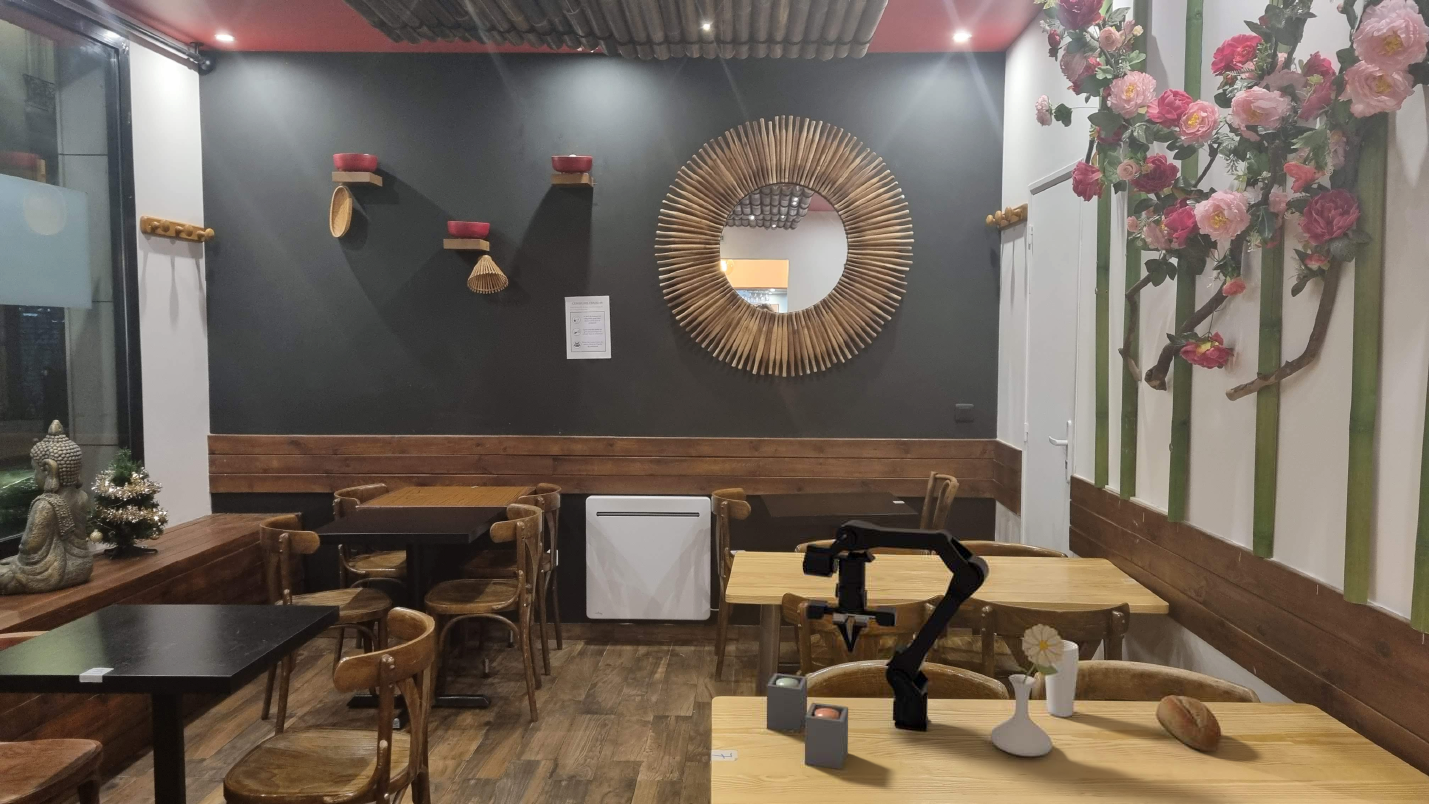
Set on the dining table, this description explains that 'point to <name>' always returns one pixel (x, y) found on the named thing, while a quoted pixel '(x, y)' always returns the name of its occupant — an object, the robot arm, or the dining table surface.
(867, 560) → the robot arm
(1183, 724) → the bread roll
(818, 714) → the terracotta button
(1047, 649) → the flower in vase
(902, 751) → the dining table surface
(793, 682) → the sage button
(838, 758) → the grey square housing
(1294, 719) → the dining table surface
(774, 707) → the grey square socket
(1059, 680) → the drinking glass
